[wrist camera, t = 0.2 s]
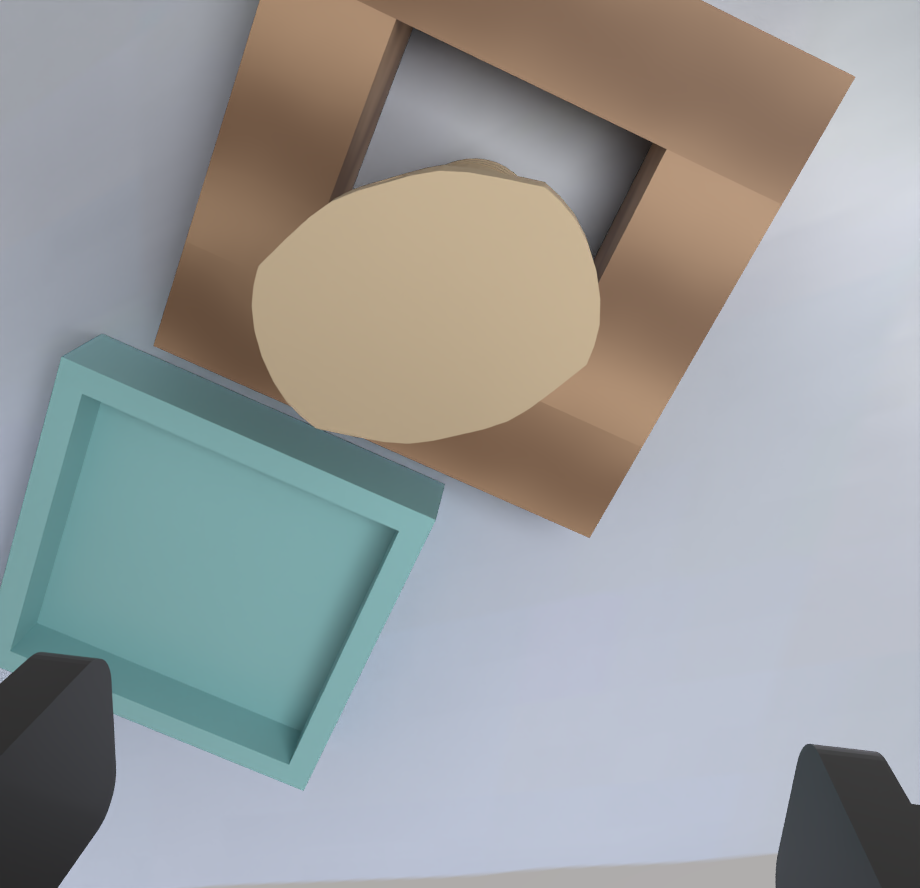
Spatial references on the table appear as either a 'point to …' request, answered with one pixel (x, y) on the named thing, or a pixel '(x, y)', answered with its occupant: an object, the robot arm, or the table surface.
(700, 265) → the socket block
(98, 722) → the robot arm
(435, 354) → the handle
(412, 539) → the tray
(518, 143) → the table surface
